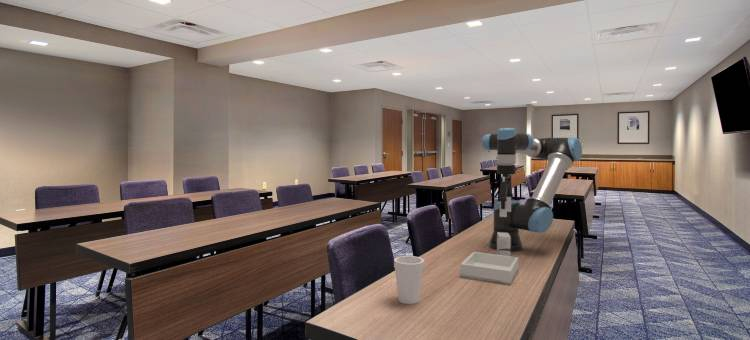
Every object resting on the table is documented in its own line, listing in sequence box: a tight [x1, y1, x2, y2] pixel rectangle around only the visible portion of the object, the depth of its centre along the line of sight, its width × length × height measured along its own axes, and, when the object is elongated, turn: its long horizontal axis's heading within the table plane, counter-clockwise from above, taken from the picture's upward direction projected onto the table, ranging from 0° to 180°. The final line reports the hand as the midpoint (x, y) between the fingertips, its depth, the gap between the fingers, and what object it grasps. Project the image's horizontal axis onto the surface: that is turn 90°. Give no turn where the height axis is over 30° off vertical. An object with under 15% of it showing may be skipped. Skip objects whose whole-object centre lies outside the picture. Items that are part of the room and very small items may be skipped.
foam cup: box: [393, 255, 425, 305], centre depth 125 cm, size 10×9×13 cm
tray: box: [459, 251, 519, 286], centre depth 152 cm, size 20×18×5 cm
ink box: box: [496, 232, 511, 256], centre depth 169 cm, size 9×5×12 cm, turn 168°
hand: (505, 214), depth 168 cm, fingers open, 13 cm apart
